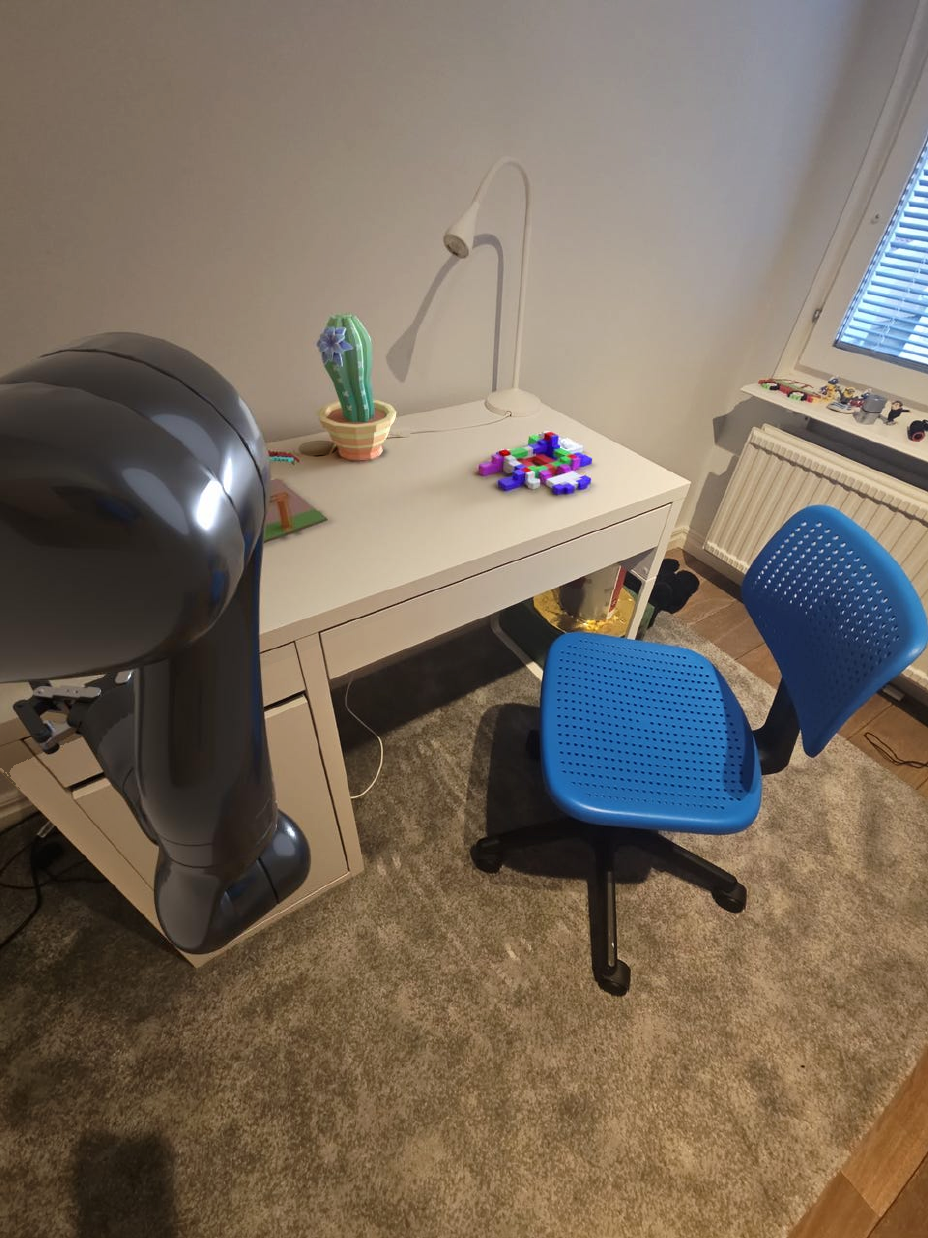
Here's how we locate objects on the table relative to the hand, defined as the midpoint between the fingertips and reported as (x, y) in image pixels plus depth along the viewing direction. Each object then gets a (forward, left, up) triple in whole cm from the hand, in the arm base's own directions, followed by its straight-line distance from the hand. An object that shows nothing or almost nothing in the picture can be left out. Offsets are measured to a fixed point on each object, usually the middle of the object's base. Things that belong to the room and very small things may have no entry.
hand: (84, 651), depth 57 cm
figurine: (+35, +20, -6) cm, 41 cm away
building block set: (+82, -7, -6) cm, 83 cm away
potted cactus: (+63, +26, -6) cm, 69 cm away
